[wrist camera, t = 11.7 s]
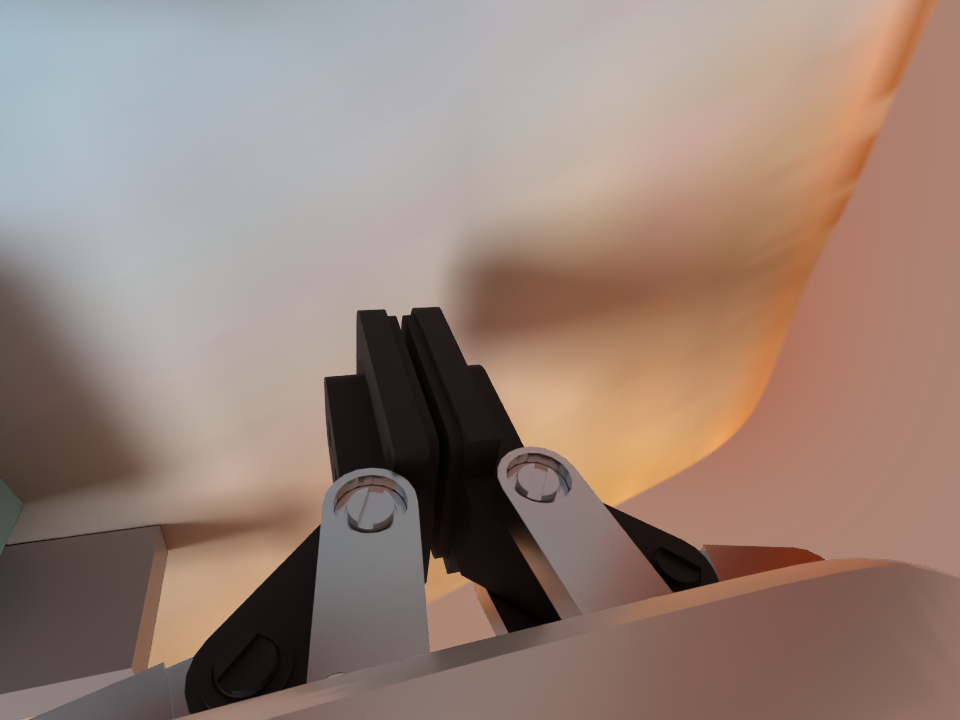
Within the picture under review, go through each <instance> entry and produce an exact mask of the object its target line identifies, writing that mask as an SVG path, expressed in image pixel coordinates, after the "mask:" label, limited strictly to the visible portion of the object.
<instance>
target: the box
mask: <svg viewBox="0 0 960 720" xmlns="http://www.w3.org/2000/svg"><path fill="white" fill-rule="evenodd" d="M167 555H168V550H167V547H166V544H165V540H164V537H163V534H162V531H161V528H160V525H159V526H151V527H144V528H137V529H129V530H122V531H115V532H107V533H100V534H92V535H85V536H78V537H70V538H63V539H56V540H48V541H41V542H34V543H26V544H19V545H12V546H4V548H3V551H2V553H1V555H0V720H20V719H25V718H30V717H34V716H38V715H40V714H43V713H45V712H47V711H50V710H52V709H55V708H57V707H59V706H62V705H64V704H66V703H69V702H71V701H73V700H76V699H78V698H80V697H83V696H85V695H88V694H90V693H92V692H95V691H97V690H99V689H102V688H104V687H106V686H109V685H111V684H113V683H116V682H118V681H120V680H123V679H125V678H128V677H130V676H132V675H135V674H137V673H139V672H142V671H144V670H146V669H147V668H148V662H149V656H150V651H151V645H152V640H153V634H154V628H155V623H156V617H157V611H158V606H159V600H160V594H161V589H162V583H163V577H164V572H165V566H166V561H167Z"/></svg>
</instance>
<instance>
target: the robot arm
mask: <svg viewBox="0 0 960 720" xmlns="http://www.w3.org/2000/svg"><path fill="white" fill-rule="evenodd" d="M324 388H325V411H326V425H327V437H328V446H329V454H330V462H331V469H332V477H333V484H332V485H331V487H330V488H329V490H328V491H327V492H326V495H325V498H324V501H323V506H322V517H321V524H320V525H319V526H318V527H317V528H316V529H315V530H314V531H313V532H312V533H311V534H310V535H309V536H308V537H307V538H306V540H305V541H304V542H303V543H302V544H301V545H300V546H299V547H298V548H297V549H296V550H295V551H294V552H293V553H292V554H291V555H290V556H289V557H288V558H287V559H286V560H285V561H284V562H283V563H282V564H281V565H280V566H279V567H278V568H277V569H276V570H275V571H274V572H273V573H272V574H271V575H270V576H269V577H268V578H267V579H266V580H265V581H264V582H263V583H262V584H261V585H260V586H259V587H258V588H257V589H256V590H255V591H254V593H253V594H252V595H251V596H250V597H249V598H248V599H247V600H246V601H245V602H244V603H243V604H242V605H241V606H240V607H239V608H238V609H237V610H236V611H235V612H234V613H233V614H232V615H231V616H230V617H229V618H228V619H227V620H226V621H225V622H224V623H223V624H222V625H221V626H220V627H219V628H218V629H217V630H216V631H215V632H214V633H213V634H212V635H211V636H210V637H209V638H208V639H207V640H206V642H205V643H204V644H203V646H202V647H201V648H200V649H199V651H198V652H197V653H196V655H195V656H194V657H192V658H189V659H187V660H185V661H182V662H180V663H178V664H175V665H173V666H171V667H169V668H166V667H165V664H164V662H163V663H161V664H158V665H156V666H153V667H151V668H149V669H146V670H144V671H142V672H139V673H137V674H135V675H132V676H130V677H128V678H125V679H123V680H120V681H118V682H116V683H113V684H111V685H109V686H106V687H104V688H102V689H99V690H97V691H95V692H92V693H90V694H88V695H85V696H83V697H80V698H78V699H76V700H73V701H71V702H69V703H66V704H64V705H62V706H59V707H57V708H55V709H52V710H50V711H47V712H45V713H43V714H40V715H38V716H36V717H33V718H31V719H29V720H960V576H958V575H955V574H953V573H950V572H947V571H944V570H941V569H938V568H934V567H930V566H926V565H921V564H915V563H909V562H903V561H898V560H892V559H873V558H845V559H844V558H843V559H830V560H825V559H823V558H822V557H821V556H819V555H817V554H814V553H812V552H810V551H808V550H805V549H799V548H793V547H762V546H729V545H703V547H702V549H701V550H697V549H696V548H695V547H693V546H692V545H690V544H688V543H687V542H685V541H683V540H681V539H679V538H677V537H675V536H673V535H671V534H669V533H666V532H664V531H662V530H660V529H658V528H656V527H653V526H651V525H649V524H647V523H645V522H643V521H641V520H638V519H636V518H634V517H632V516H630V515H628V514H625V513H623V512H621V511H619V510H617V509H615V508H613V507H611V506H608V505H606V504H604V503H602V502H601V500H600V499H599V498H598V497H597V495H596V494H595V493H594V491H593V490H592V489H591V488H590V486H589V485H588V484H587V483H586V481H585V480H584V479H583V477H582V476H581V475H580V474H579V472H578V471H577V470H576V469H575V467H574V466H573V465H572V464H571V463H570V462H569V461H568V460H567V459H566V458H564V457H562V456H561V455H559V454H557V453H556V452H553V451H550V450H547V449H544V448H539V447H524V446H523V444H522V442H521V440H520V438H519V436H518V434H517V432H516V430H515V428H514V426H513V424H512V422H511V420H510V418H509V416H508V414H507V412H506V410H505V408H504V406H503V404H502V403H501V401H500V399H499V397H498V395H497V393H496V391H495V389H494V387H493V385H492V383H491V381H490V379H489V377H488V375H487V373H486V371H485V369H484V368H483V367H482V366H481V365H468V366H467V363H466V361H465V359H464V357H463V355H462V353H461V351H460V349H459V347H458V344H457V342H456V340H455V338H454V336H453V334H452V332H451V330H450V327H449V325H448V323H447V321H446V319H445V317H444V315H443V313H442V311H441V309H440V307H426V308H413V309H412V311H411V315H403V317H402V326H401V329H400V326H399V323H398V320H397V317H396V316H387V313H386V311H385V310H384V309H382V310H360V311H357V371H356V375H345V376H332V377H325V378H324ZM430 550H431V552H432V555H433V557H434V558H435V559H437V558H442V557H443V560H444V563H445V567H446V570H447V574H450V573H455V572H460V573H461V575H462V576H464V577H466V578H468V579H469V580H471V581H473V582H474V589H475V592H476V595H477V598H478V600H479V602H480V604H481V606H482V608H483V610H484V612H485V614H486V616H487V618H488V620H489V622H490V624H491V626H492V628H493V630H494V632H495V634H496V637H492V638H488V639H483V640H479V641H475V642H471V643H467V644H463V645H459V646H455V647H451V648H447V649H443V650H439V651H436V652H431V653H430V644H429V632H428V619H427V607H426V595H425V583H426V582H427V574H428V566H429V558H430Z"/></svg>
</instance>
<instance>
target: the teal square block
mask: <svg viewBox="0 0 960 720" xmlns="http://www.w3.org/2000/svg"><path fill="white" fill-rule="evenodd" d="M23 504H24V503H23V502H22V501H21V500H20V499H19V498H18V497H17V496H16V495H15V494H14V493H13V491H12V490H11V489H10V488H9V487H8V486H7V485H6V484H5V483H4V482H3V481H2V479H1V478H0V555H1V553H2V551H3V548H4V546H5V544H6V542H7V540H8V537H9V535H10V533H11V531H12V529H13V526H14V524H15V522H16V520H17V517H18V515H19V513H20V511H21V509H22V506H23Z"/></svg>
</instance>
